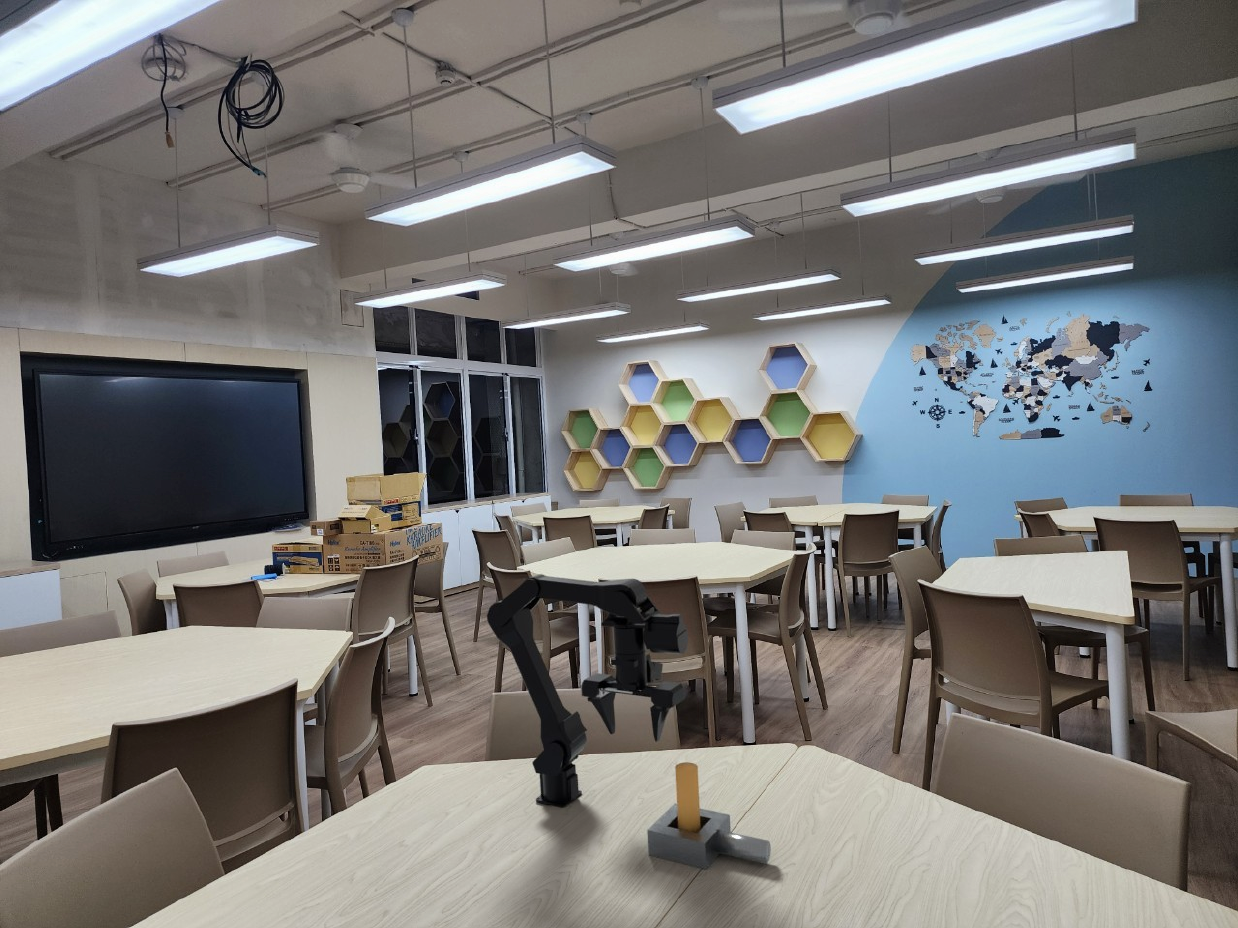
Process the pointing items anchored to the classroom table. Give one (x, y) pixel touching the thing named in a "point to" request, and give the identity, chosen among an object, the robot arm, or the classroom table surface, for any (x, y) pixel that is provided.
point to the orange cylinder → (688, 797)
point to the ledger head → (702, 840)
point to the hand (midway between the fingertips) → (634, 737)
